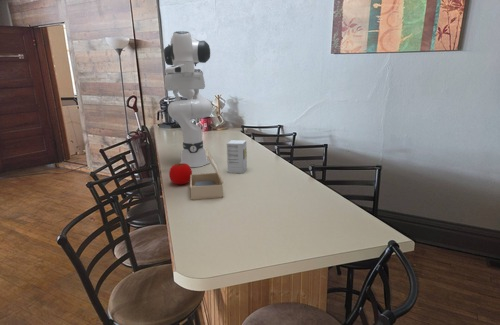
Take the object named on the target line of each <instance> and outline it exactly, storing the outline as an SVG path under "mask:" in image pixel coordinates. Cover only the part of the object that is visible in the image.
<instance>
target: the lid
mask: <svg viewBox="0 0 500 325" xmlns="http://www.w3.org/2000/svg"><path fill="white" fill-rule="evenodd" d="M204 149H205V150H206V156H207V157H206V158H207V159H208V160H209V161H210V163H209V164H211V166H212V168H213V170H214V171H215V172H214V173H217V175H218V177H219V179H220V180H221V182H222V185H224V180H223V176H222V173H221V171H220V169H219V167H218V165H217V163H216V161H215V160H214V158H213V156H212V154H211V153H210V151H209V149H208V147H205V148H204Z"/></svg>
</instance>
